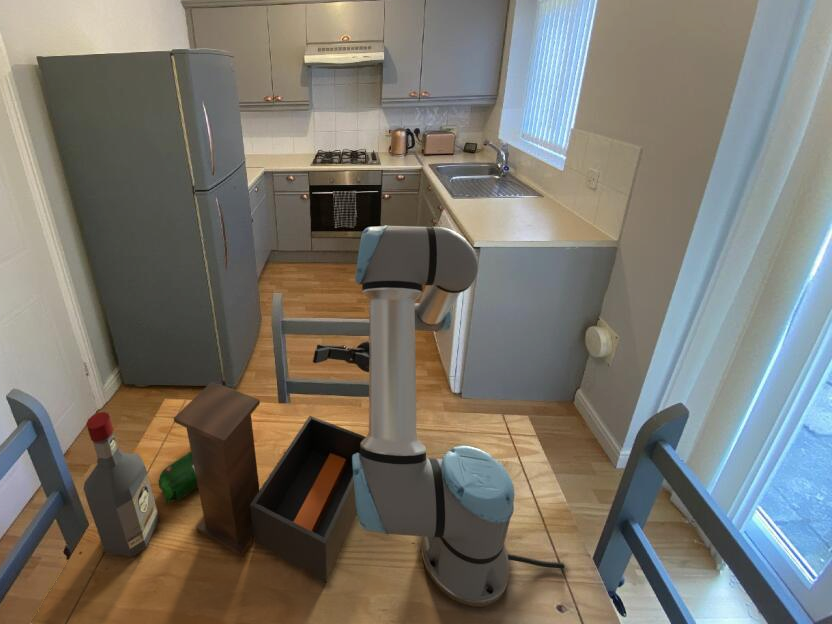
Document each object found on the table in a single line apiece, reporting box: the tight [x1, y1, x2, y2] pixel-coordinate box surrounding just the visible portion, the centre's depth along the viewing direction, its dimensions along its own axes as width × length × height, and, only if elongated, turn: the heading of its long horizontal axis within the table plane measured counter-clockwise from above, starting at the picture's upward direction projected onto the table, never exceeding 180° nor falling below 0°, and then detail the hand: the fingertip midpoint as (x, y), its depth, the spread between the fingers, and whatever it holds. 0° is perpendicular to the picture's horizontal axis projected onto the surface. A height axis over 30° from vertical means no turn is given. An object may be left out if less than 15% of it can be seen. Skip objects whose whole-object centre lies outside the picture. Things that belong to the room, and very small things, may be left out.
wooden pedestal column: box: [173, 381, 261, 558], centre depth 80 cm, size 11×10×30 cm
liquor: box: [83, 411, 160, 558], centre depth 78 cm, size 9×9×30 cm
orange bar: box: [294, 453, 346, 533], centre depth 87 cm, size 4×20×2 cm, turn 154°
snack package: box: [158, 451, 198, 504], centre depth 94 cm, size 7×16×5 cm, turn 131°
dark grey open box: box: [250, 415, 367, 583], centre depth 86 cm, size 16×24×11 cm, turn 153°
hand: (343, 365), depth 89 cm, fingers open, 13 cm apart
